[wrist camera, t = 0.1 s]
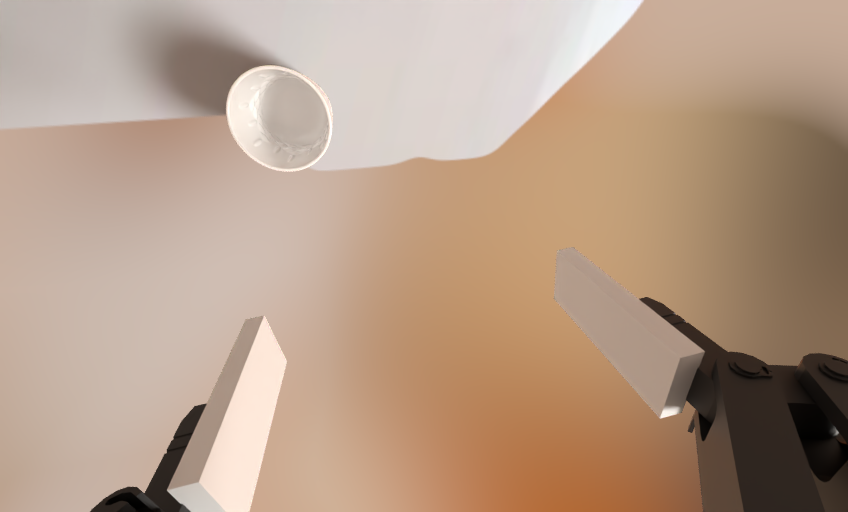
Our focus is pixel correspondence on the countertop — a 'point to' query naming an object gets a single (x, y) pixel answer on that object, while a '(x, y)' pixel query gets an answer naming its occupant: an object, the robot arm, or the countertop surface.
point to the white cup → (279, 117)
